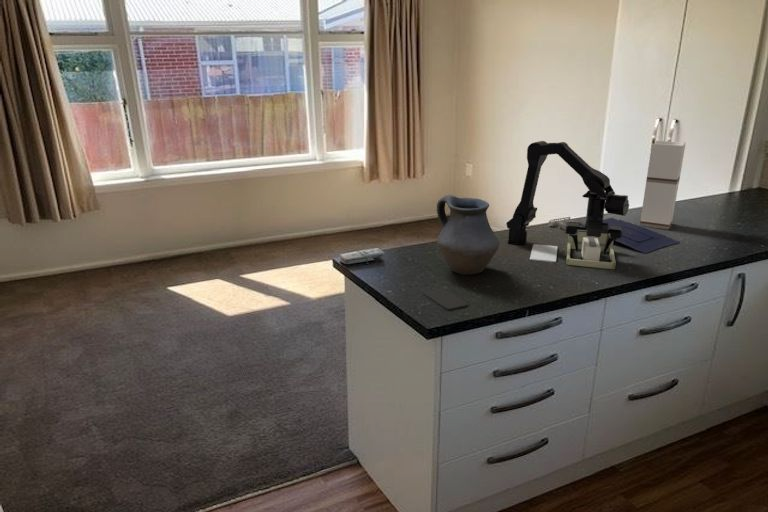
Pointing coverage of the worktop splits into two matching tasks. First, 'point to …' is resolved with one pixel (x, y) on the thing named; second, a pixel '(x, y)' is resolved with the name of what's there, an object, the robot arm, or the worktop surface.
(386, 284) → the worktop surface
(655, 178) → the tall banded white pillar
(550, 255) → the mat
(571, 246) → the equipment case
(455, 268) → the pitcher
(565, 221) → the graphics card
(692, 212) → the worktop surface
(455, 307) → the phone
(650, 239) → the navy flat panel
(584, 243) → the module
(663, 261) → the worktop surface
